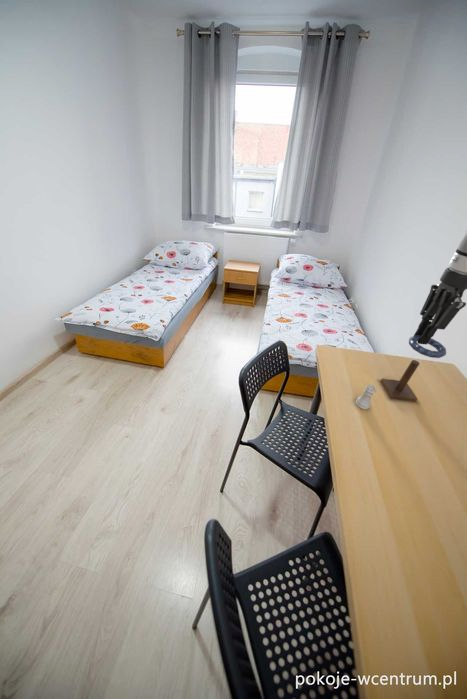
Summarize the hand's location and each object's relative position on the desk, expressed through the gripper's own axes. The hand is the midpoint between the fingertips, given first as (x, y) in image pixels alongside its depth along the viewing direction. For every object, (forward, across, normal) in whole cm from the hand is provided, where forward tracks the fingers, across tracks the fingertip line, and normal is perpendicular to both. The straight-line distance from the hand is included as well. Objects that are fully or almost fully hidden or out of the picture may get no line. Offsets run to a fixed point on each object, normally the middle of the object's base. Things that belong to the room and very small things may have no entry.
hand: (419, 340), depth 90 cm
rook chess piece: (+20, +12, -16) cm, 28 cm away
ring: (-1, +4, 0) cm, 4 cm away
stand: (+20, +3, 0) cm, 20 cm away
